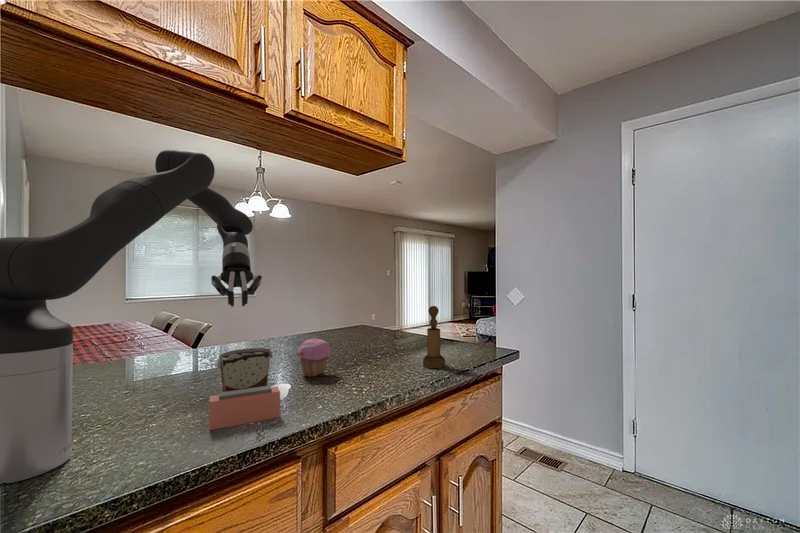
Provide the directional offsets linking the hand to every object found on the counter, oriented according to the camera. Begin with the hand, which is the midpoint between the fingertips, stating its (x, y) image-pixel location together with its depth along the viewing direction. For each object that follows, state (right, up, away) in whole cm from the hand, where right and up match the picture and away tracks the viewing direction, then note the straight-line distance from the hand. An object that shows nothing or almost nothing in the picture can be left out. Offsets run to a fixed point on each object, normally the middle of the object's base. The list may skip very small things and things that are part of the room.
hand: (238, 304), depth 93 cm
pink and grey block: (+14, -19, -27) cm, 36 cm away
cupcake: (+20, -20, +3) cm, 28 cm away
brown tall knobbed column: (+54, -20, +12) cm, 58 cm away
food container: (+7, -20, -13) cm, 24 cm away
